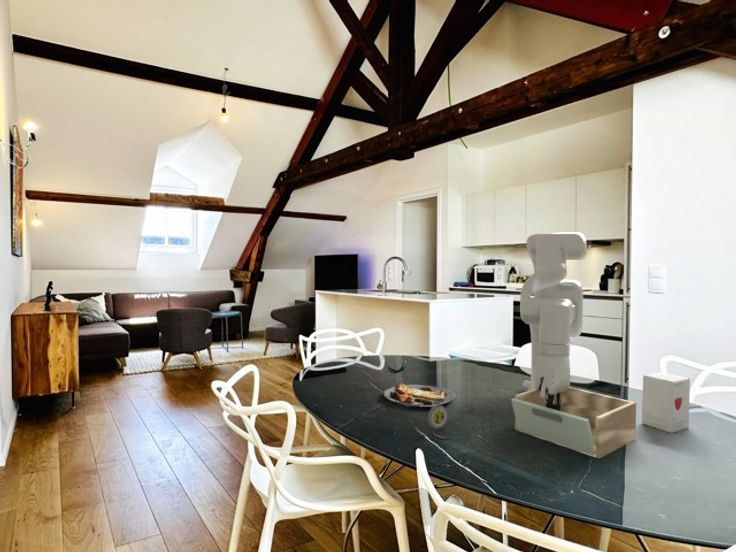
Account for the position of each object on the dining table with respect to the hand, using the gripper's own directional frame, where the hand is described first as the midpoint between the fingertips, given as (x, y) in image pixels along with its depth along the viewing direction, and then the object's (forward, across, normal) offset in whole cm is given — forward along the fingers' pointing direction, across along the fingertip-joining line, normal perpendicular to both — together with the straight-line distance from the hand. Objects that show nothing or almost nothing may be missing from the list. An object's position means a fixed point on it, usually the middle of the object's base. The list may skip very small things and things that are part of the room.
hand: (553, 417), depth 121 cm
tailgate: (+7, 0, 0) cm, 7 cm away
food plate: (+9, -1, -52) cm, 53 cm away
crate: (+8, -10, 0) cm, 13 cm away
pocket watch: (+8, +16, -24) cm, 30 cm away
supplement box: (+9, -40, +12) cm, 43 cm away
